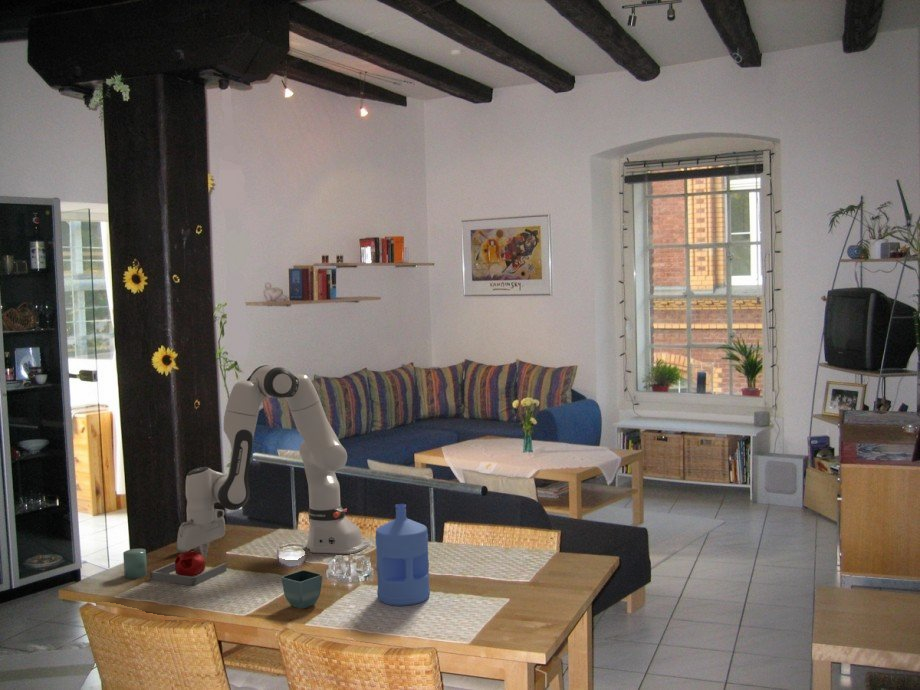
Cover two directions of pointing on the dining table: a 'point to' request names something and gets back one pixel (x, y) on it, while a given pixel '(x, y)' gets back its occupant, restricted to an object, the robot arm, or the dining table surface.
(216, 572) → the grey shallow tray frame
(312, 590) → the flower pot
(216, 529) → the robot arm
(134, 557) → the rounded teal cylinder
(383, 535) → the water jug
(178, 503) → the reed diffuser
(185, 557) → the pomegranate
